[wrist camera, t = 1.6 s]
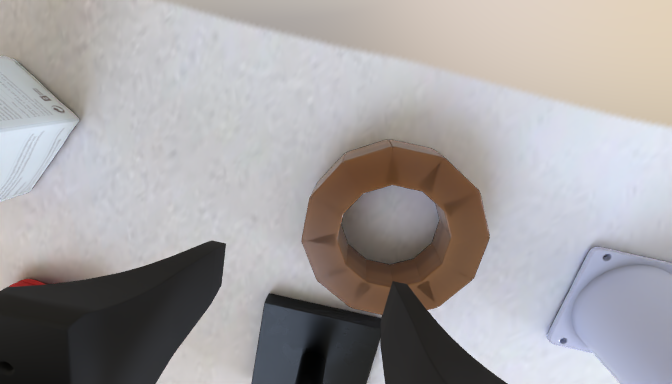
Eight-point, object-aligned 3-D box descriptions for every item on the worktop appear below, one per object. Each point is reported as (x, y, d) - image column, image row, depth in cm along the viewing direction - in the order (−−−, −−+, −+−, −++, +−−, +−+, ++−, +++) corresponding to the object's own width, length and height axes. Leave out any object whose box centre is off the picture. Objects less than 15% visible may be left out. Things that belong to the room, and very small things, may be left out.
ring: (494, 161, 21) (515, 172, 18) (442, 302, 24) (453, 331, 21) (327, 125, 21) (321, 130, 18) (299, 270, 24) (290, 294, 21)
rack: (382, 318, 25) (388, 385, 19) (356, 403, 27) (355, 485, 22) (268, 292, 25) (241, 352, 19) (254, 380, 28) (226, 455, 22)
